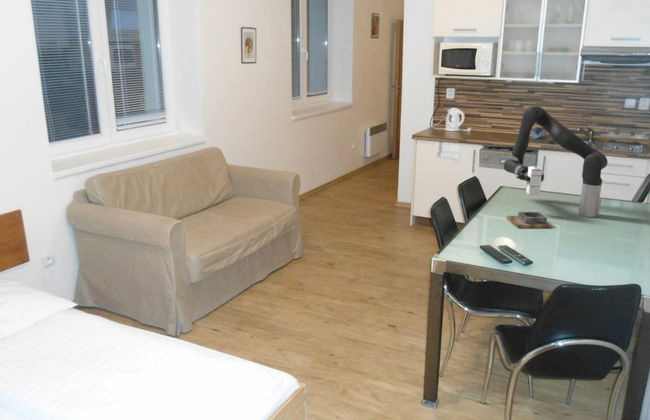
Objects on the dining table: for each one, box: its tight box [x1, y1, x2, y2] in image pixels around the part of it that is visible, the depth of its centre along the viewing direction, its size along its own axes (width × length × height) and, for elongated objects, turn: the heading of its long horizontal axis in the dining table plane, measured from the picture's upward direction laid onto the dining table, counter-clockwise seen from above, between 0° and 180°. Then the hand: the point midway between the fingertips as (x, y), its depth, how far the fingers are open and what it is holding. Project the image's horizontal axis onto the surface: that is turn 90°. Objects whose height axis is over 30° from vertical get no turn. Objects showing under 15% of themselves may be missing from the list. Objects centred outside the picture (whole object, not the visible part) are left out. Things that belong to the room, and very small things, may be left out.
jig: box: [506, 211, 551, 229], centre depth 291 cm, size 16×16×4 cm
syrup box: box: [525, 165, 543, 197], centre depth 304 cm, size 6×6×14 cm
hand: (536, 179), depth 301 cm, fingers closed on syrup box, 6 cm apart
